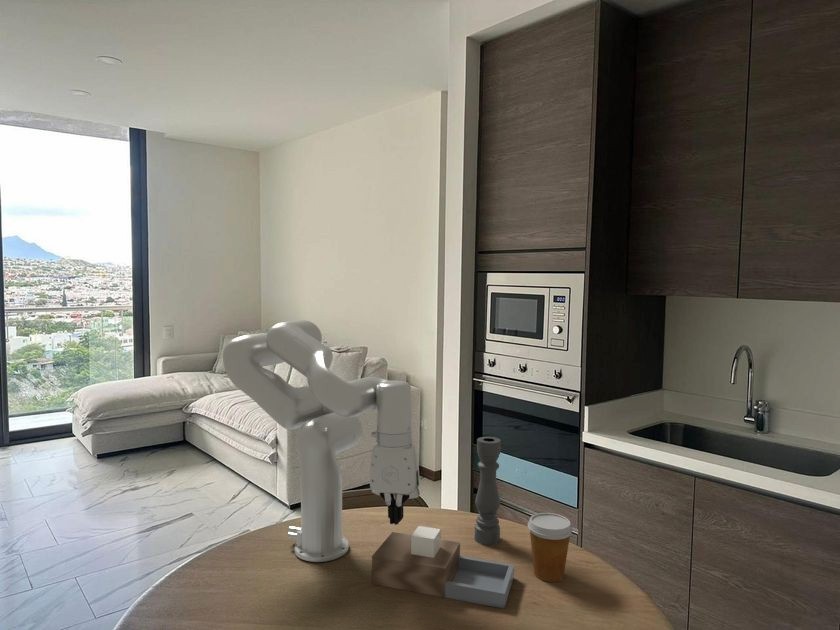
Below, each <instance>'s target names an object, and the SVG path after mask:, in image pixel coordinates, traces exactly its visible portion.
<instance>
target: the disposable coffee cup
mask: <svg viewBox="0 0 840 630" xmlns="http://www.w3.org/2000/svg"><path fill="white" fill-rule="evenodd" d="M527 528H528V530H529V535H530V544H531V545H530V546H531V555H532V564H533V565H532V566H533V575H535V577H536V578H537V579H539V580H541V581H545V582H549V583H553V582H555V583H556V582H559V581H562V580H563V579H564V578H565V577H564V575H565V568H566V563H567V557H568V550H569V546H570V545H569V543H570V538H571V535H572V532H573V526H572V524H571V521H570V519H568V518H567V517H566V516H564V515H561V514H558V513H552V512H540V513H535V514H533V515H531V516H530V517H529V521H528V522H527Z"/></svg>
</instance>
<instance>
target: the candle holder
mask: <svg viewBox="0 0 840 630" xmlns="http://www.w3.org/2000/svg"><path fill="white" fill-rule="evenodd" d="M501 445H502V444H501V439H500V438H498V437H495V436H482V437H478V438H477V439H476V453H477V456H478V458H479V462H478V463H477V467H478V469H479V471H480V478H479V483H478V484H479V485H478V488H477V492H476V496H475V500H474V502H475V506H476V507H475V508H476V509H477V510H478V516H477V517H476V519H475V524H474V541H475V542H476V543H477V544H480V545H483V546H495V545H497V544H499V543H500V541H501V526H500V520H499V518H498V517H497V512H498V510H499V509H500V507H501V499H500V494H499V491H498V485H497V470H498V469H499V468H500V463H498V462H497V461H498V459H499V458H500V454H501Z"/></svg>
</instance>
